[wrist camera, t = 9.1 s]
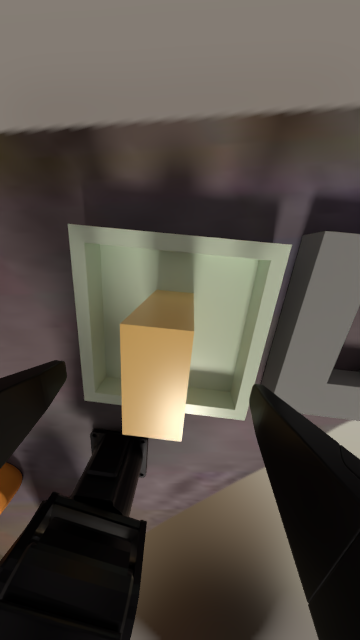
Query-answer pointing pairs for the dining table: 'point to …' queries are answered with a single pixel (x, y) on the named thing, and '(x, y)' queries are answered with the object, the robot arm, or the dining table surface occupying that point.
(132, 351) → the tan rectangular block
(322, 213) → the dining table surface
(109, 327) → the parts tray
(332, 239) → the grey slotted plate
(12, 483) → the multimeter
